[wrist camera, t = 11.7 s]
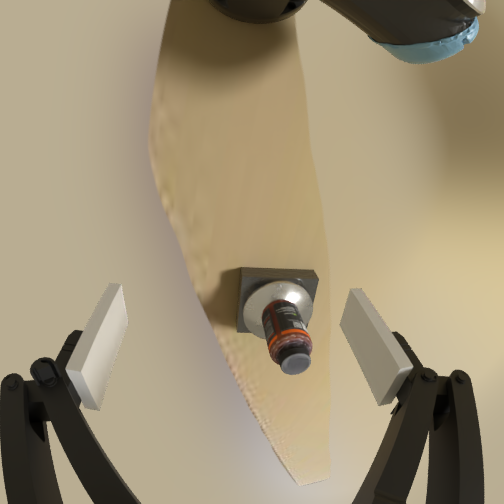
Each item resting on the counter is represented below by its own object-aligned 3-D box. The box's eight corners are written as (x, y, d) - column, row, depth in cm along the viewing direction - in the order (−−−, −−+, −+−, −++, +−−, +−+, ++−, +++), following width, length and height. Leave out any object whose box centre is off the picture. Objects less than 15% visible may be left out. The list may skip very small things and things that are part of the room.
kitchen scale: (241, 266, 47) (243, 282, 43) (313, 269, 49) (322, 284, 44) (235, 324, 52) (237, 342, 47) (301, 324, 53) (307, 341, 49)
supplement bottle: (263, 331, 47) (274, 384, 37) (258, 302, 44) (269, 354, 34) (299, 324, 47) (318, 374, 37) (297, 294, 45) (317, 343, 34)
